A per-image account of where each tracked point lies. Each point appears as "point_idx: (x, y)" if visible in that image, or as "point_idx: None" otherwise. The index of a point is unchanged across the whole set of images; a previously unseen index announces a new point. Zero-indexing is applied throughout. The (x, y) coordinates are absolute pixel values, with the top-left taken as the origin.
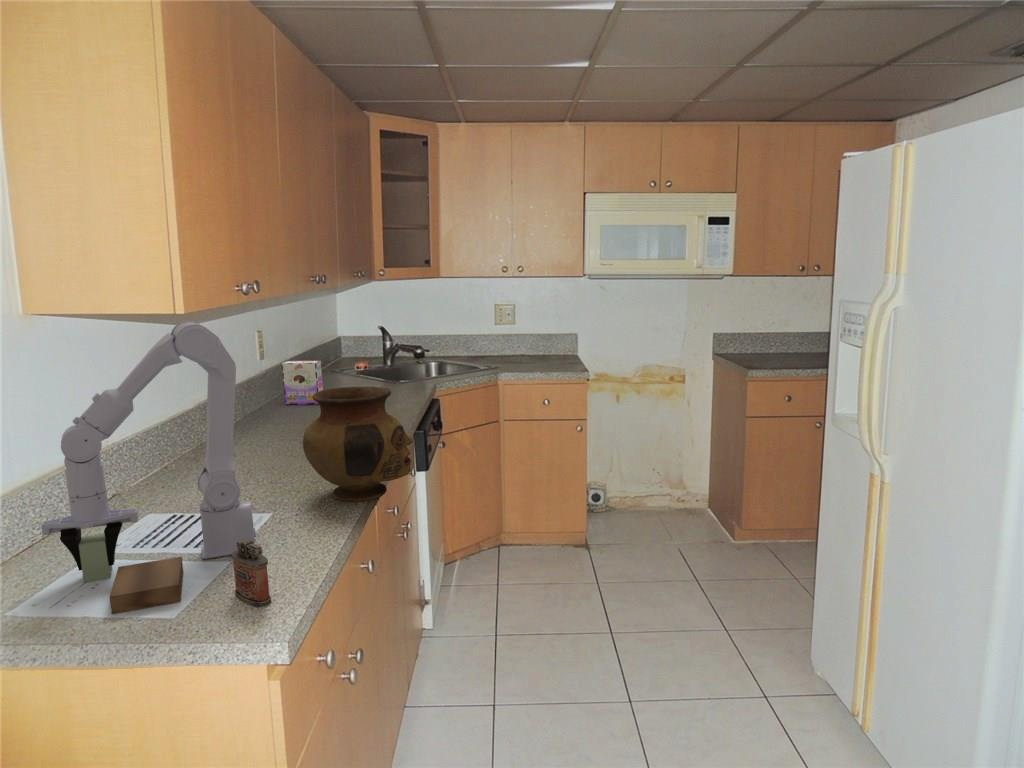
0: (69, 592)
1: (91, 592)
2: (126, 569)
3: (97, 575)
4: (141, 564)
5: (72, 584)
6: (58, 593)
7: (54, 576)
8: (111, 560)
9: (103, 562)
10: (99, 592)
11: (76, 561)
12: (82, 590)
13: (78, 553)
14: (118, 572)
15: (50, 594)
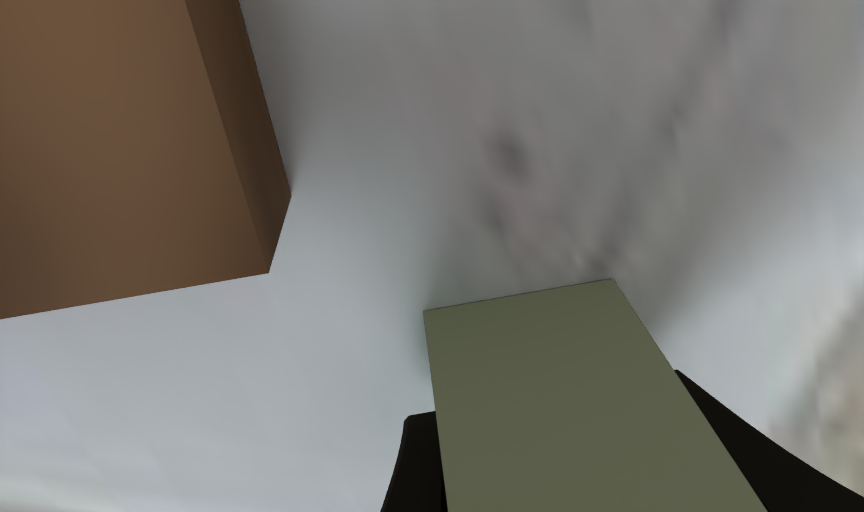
0: (696, 111)
1: (501, 55)
2: (130, 175)
3: (516, 318)
4: (6, 279)
5: (694, 265)
6: (783, 116)
7: (831, 421)
8: (412, 441)
9: (473, 404)
10: (424, 33)
11: (738, 417)
12: (593, 124)
13: (756, 483)
14: (192, 99)
15: (844, 113)
